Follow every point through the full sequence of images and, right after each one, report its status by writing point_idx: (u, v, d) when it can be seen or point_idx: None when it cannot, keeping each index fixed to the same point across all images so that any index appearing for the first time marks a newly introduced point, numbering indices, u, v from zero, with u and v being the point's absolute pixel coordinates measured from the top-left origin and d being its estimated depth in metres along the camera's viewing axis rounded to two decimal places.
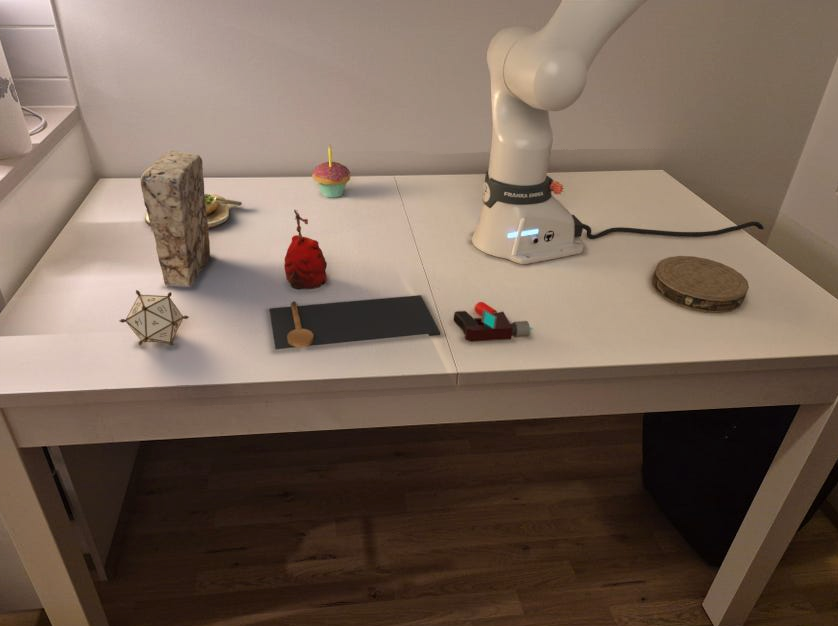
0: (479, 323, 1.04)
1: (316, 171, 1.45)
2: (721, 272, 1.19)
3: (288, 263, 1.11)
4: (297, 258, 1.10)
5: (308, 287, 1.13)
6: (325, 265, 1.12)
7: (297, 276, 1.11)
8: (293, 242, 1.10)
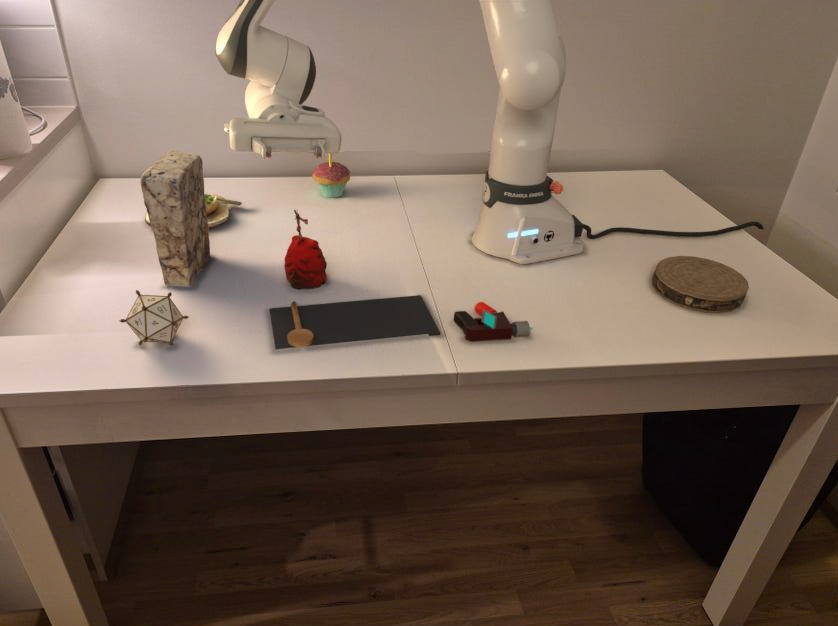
0: (479, 323, 1.04)
1: (316, 171, 1.45)
2: (721, 272, 1.19)
3: (288, 263, 1.11)
4: (297, 258, 1.10)
5: (308, 287, 1.13)
6: (325, 265, 1.12)
7: (297, 276, 1.11)
8: (293, 242, 1.10)
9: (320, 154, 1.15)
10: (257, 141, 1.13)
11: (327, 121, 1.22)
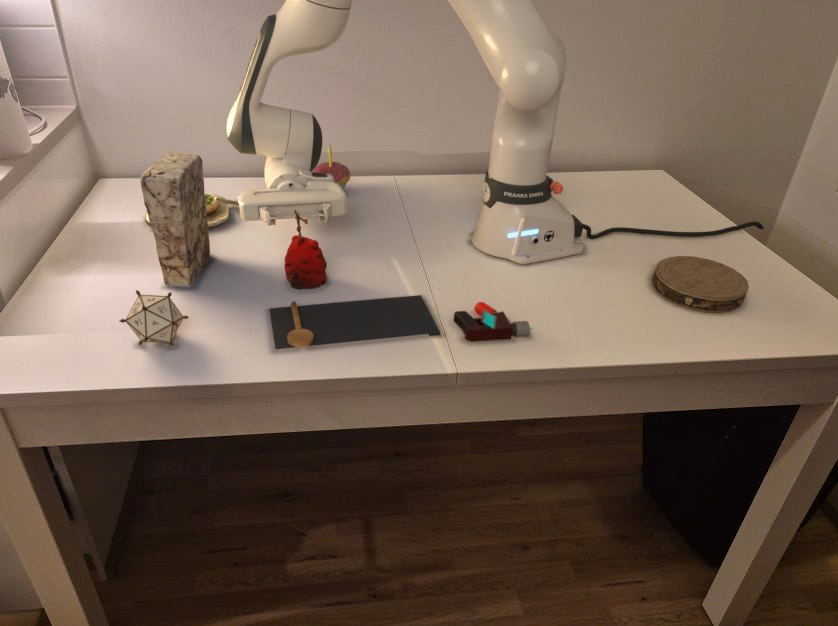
0: (479, 323, 1.04)
1: (316, 171, 1.45)
2: (721, 272, 1.19)
3: (288, 263, 1.11)
4: (297, 258, 1.10)
5: (308, 287, 1.13)
6: (325, 265, 1.12)
7: (297, 276, 1.11)
8: (293, 242, 1.10)
9: (323, 218, 1.19)
10: (263, 210, 1.19)
11: (334, 185, 1.26)
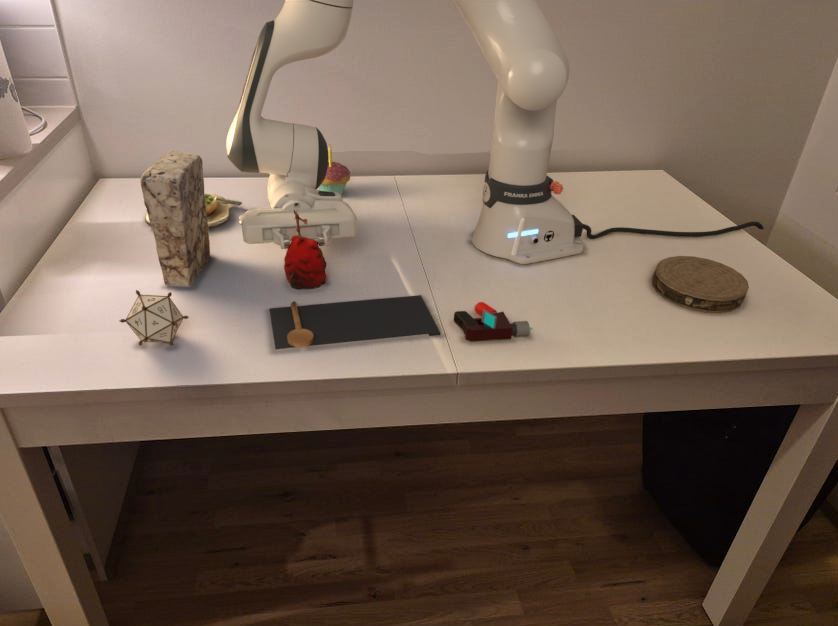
0: (479, 323, 1.04)
1: None
2: (721, 272, 1.19)
3: (288, 263, 1.11)
4: (297, 258, 1.10)
5: (308, 287, 1.13)
6: (325, 265, 1.12)
7: (297, 276, 1.11)
8: (293, 242, 1.10)
9: (323, 241, 1.11)
10: (276, 232, 1.11)
11: (343, 205, 1.19)
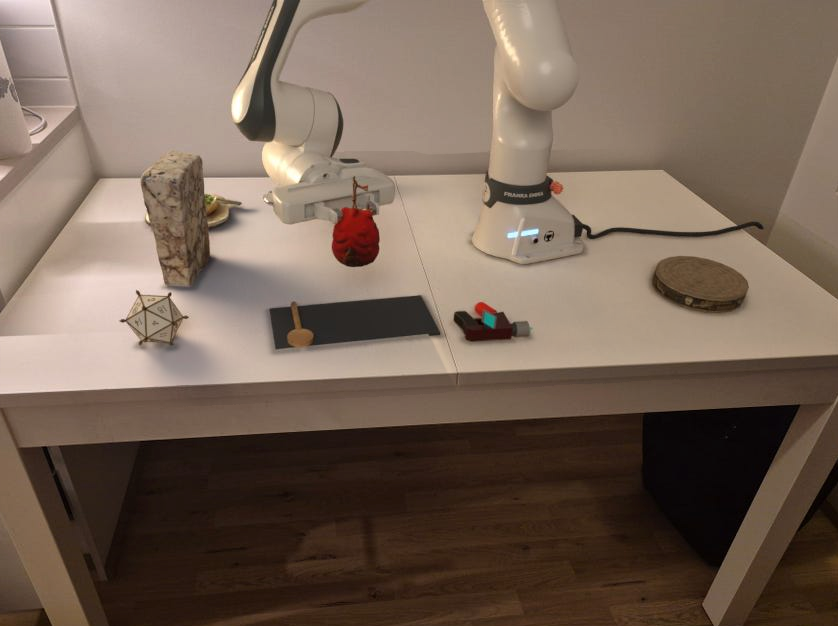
0: (479, 323, 1.04)
1: None
2: (721, 272, 1.19)
3: (342, 239, 0.99)
4: (354, 232, 0.99)
5: (365, 263, 1.02)
6: None
7: (354, 252, 1.00)
8: (345, 215, 0.99)
9: (375, 210, 1.01)
10: (322, 206, 0.99)
11: (372, 170, 1.09)
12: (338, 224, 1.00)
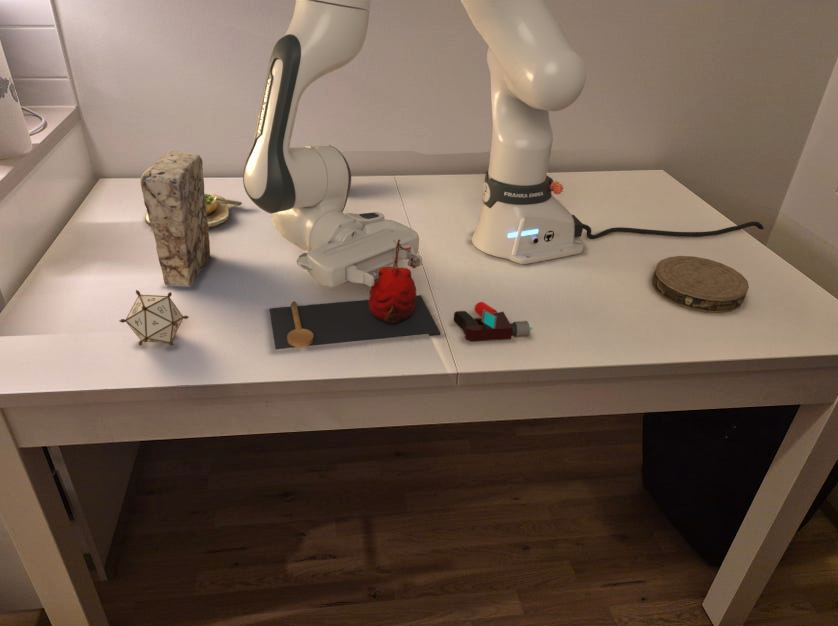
0: (479, 323, 1.04)
1: None
2: (721, 272, 1.19)
3: (384, 298, 1.02)
4: (397, 291, 1.01)
5: (405, 318, 1.05)
6: None
7: (397, 309, 1.03)
8: (386, 275, 1.01)
9: (418, 262, 1.05)
10: (356, 270, 1.00)
11: (393, 223, 1.11)
12: (379, 284, 1.02)
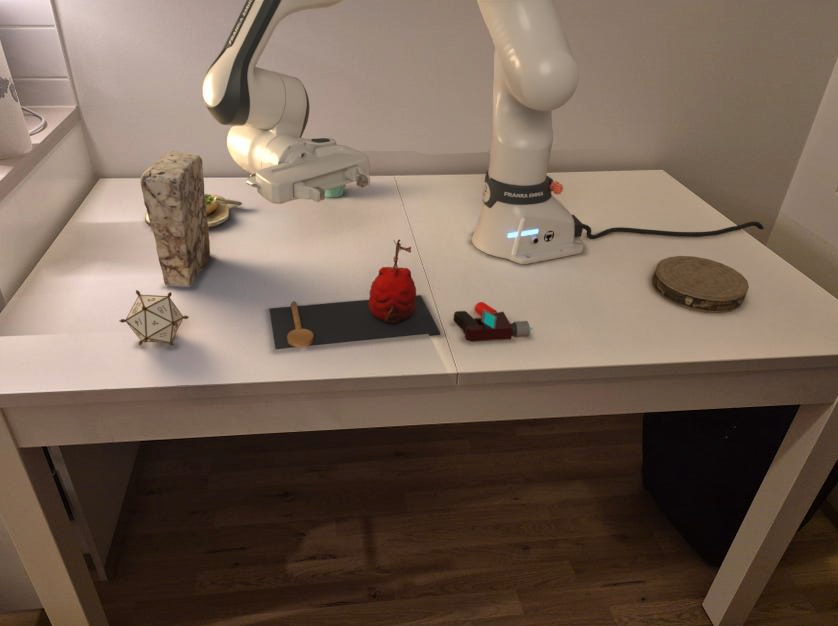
0: (479, 323, 1.04)
1: None
2: (721, 272, 1.19)
3: (384, 298, 1.02)
4: (397, 291, 1.01)
5: (405, 318, 1.05)
6: None
7: (397, 309, 1.03)
8: (385, 275, 1.01)
9: (366, 181, 1.07)
10: (302, 186, 1.02)
11: (345, 148, 1.13)
12: (379, 284, 1.02)
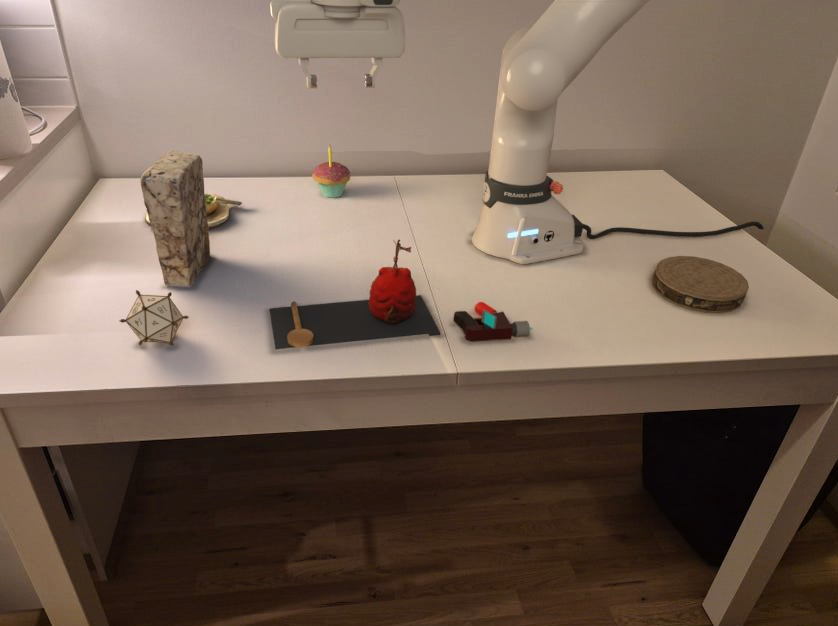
0: (479, 323, 1.04)
1: (316, 171, 1.45)
2: (721, 272, 1.19)
3: (384, 298, 1.02)
4: (397, 291, 1.01)
5: (405, 318, 1.05)
6: None
7: (397, 309, 1.03)
8: (385, 275, 1.01)
9: None
10: (304, 69, 1.01)
11: (397, 22, 1.00)
12: (379, 284, 1.02)
